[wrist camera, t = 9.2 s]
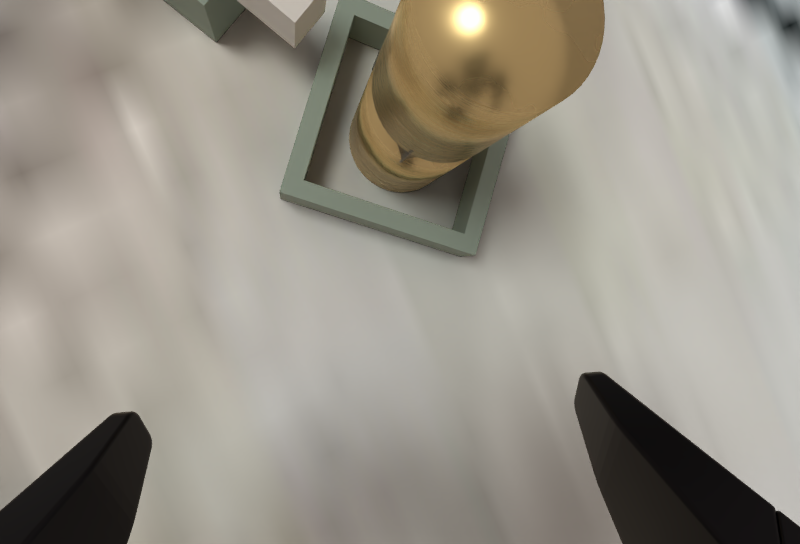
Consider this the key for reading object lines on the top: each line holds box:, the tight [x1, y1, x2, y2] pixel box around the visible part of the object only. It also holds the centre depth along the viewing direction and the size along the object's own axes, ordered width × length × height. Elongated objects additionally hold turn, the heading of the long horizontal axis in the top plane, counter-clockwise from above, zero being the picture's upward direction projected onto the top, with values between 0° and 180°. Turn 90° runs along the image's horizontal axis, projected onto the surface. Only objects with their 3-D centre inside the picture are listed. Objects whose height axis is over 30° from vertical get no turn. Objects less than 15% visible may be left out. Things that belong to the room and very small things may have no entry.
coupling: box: [349, 0, 605, 192], centre depth 17 cm, size 5×5×12 cm
